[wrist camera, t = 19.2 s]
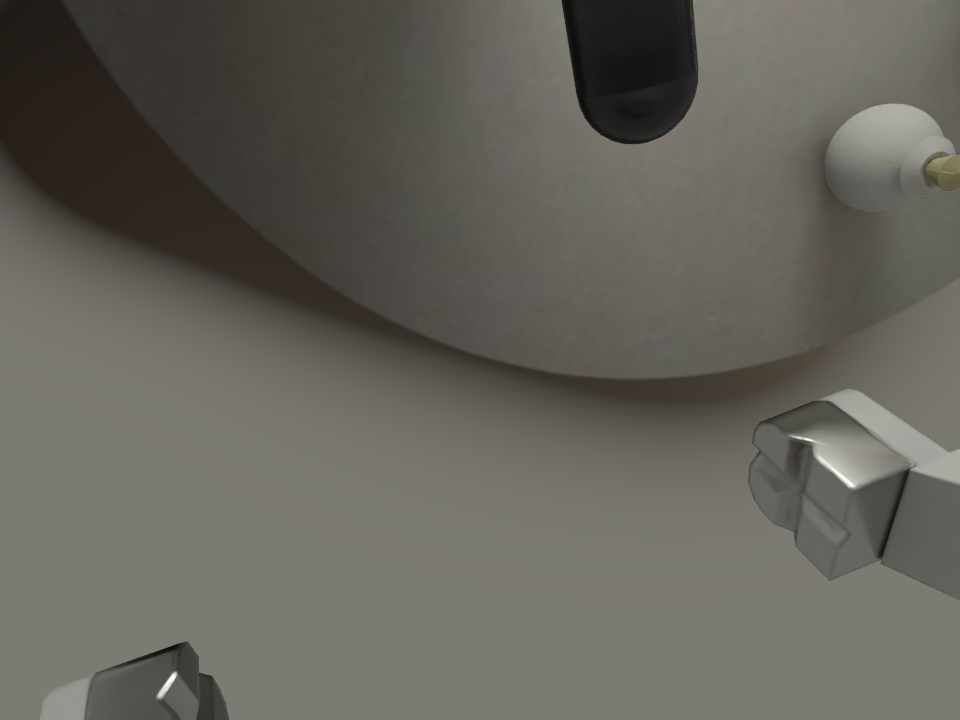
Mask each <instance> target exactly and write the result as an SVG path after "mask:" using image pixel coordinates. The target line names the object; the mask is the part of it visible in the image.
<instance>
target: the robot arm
mask: <svg viewBox="0 0 960 720" xmlns="http://www.w3.org/2000/svg"><path fill="white" fill-rule="evenodd" d="M752 444H753V445H755V447H756V448H757V449H758V450H759V452H758V454H757V455H756V456H755V458H754V459H753V461H752V462H751V464H750V466H749V477H748V483H749V486H750V489H751V492H752V495H753V498H754V500H755V501H756V503H757V505H758V506H759V508H760V509H761V511H762V512H763V513H764V514H765V515H766V516H767V517H768V519H769V520H770V521H771V522H772V523H773V524H775V525H777V526H780V527H783V528H786V529H788V530H791V531H794V538H795V545H796V547H797V548H798V549H799V550H800V551H801V552H802V553H803V554H804V555H805V556H806V557H807V559H809V561H810V562H811V563H813V565H814V566H815V567H817V568H818V570H819V571H820V572H821V573H822V574H823V575H824V576H825V577H826V578H827V579H828V580H829V581H831V580H833V579H835V578H838V577H840V576H843V575H845V574H847V573H850V572H852V571H855V570H857V569H860V568H862V567H865V566H867V565H869V564H872V563H874V562H877V561H879V560H881V564H883V565H885V566H887V567H889V568H891V569H893V570H896V571H898V572H900V573H902V574H904V575H906V576H908V577H911V578H913V579H915V580H917V581H919V582H921V583H924V584H926V585H928V586H930V587H932V588H934V589H936V590H939V591H941V592H943V593H945V594H947V595H949V596H951V597H954V598H956V599H958V600H960V450H955V451H953V452H950V453H949V452H947V451H946V450H944V449H943V448H941V447H940V446H939V445H937V444H935V443H934V442H933V441H931V440H930V439H928V438H927V437H925V436H924V435H922V434H921V433H919V432H918V431H917V430H915V429H914V428H912V427H911V426H909V425H908V424H906V423H905V422H904V421H902V420H901V419H899V418H898V417H896V416H895V415H893V414H892V413H890V412H889V411H887V410H886V409H885V408H883V407H882V406H880V405H878V404H877V403H876V402H874V401H873V400H871V399H870V398H869V397H867V396H866V395H864V394H863V393H861V392H859V391H856V390H852V389H846V390H843V391H840V392H838V393H835V394H832V395H830V396H827V397H825V398H822V399H819V400H817V401H812V402H810V403H807V404H805V405H802V406H800V407H797V408H795V409H792V410H789V411H787V412H784V413H782V414H779V415H777V416H774V417H772V418H769V419H767V420H765V421H762V422H760V423H759V424H758V425H757V427H756V428H755V429H754V434H753V441H752ZM38 720H229V716H228V712H227V707H226V703H225V700H224V698H223V695H222V693H221V690H220V688H219V686H218V685H217V683H216V681H215V680H214V678H213V677H212V676H210V675H206V674H202V673H199V656H198V655H197V653H196V652H195V651H194V649H193V648H192V647H191V646H190V644H189V643H188V642H183V643H179V644H176V645H173V646H171V647H168V648H165V649H162V650H159V651H157V652H154V653H151V654H148V655H145V656H143V657H139V658H136V659H134V660H131V661H128V662H126V663H122V664H120V665H117V666H114V667H111V668H108V669H105V670H103V671H100V672H97V673H95V674H92V675H89V676H86V677H84V678H81V679H78V680H76V681H73V682H70V683H67V684H65V685H62V686H59V687H56V688H54V689H51V690H50V691H49V693H48V695H47V697H46V698H45V700H44V702H43V704H42V706H41V709H40V715H39V719H38Z"/></svg>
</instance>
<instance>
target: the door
mask: <svg viewBox="0 0 960 720" xmlns="http://www.w3.org/2000/svg"><path fill="white" fill-rule="evenodd" d="M562 6H563V13H564V19H565V25H566V31H567V38H568V44H569V50H570V56H571V62H572V69H573V75H574V81H575V87H576V94H577V98H578V101H579V105H580V109H581V111H582V113H583V115H584V117H585V119H586V120H587V121H588V123H589V124H590V125H591V127H592V128H593V129H595V130H596V131H597V132H598V133H599V134H600V135H602V136H604V137H606V138H608V139H610V140H612V141H615V142H619V143H623V144H642V143H647V142H650V141H652V140H655V139H657V138H660V137H662V136H663V135H665V134H666V133H668V132H669V131H670V130H672V129H673V128H674V127H675V126H676V125H677V124H678V123H679V122H680V121H681V120H682V119H683V118H684V116H685V115H686V113H687V112H688V110H689V108H690V107H691V104H692V102H693V99H694V97H695V94H696V89H697V84H698V59H697V47H696V35H695V23H694V11H693V0H562Z"/></svg>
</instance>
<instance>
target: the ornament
mask: <svg viewBox="0 0 960 720" xmlns="http://www.w3.org/2000/svg"><path fill="white" fill-rule="evenodd" d="M824 173H825V178H826V181H827V184H828V186H829V188H830V190H831V191H832V193H833V194H834V195H835V196H836V197H837V198H838V199H839V200H840V201H841V202H842V203H844V204H845V205H847V206H849V207H851V208H853V209H856V210H859V211H864V212H870V213H882V212H889V211H893V210H897V209H900V208H903V207H905V206H907V205H909V204H911V203H913V202H914V201H916V200H917V199H925V198H928V197H930V196H932V195H934V194H935V193H937V192H938V191H939V190H941V189H943V190H945V191H952V190H955V189H956V188H958V187H959V186H960V155H956V153H955V149H954V146H953V144H952V143H951V142H950V141H949V140H948V139H947V138H945V137H944V136H943V133H942V131H941V129H940V127H939V125H938V124H937V123H936V122H935V121H934V120H933V119H932V118H931V117H930V116H929V115H928V114H927V113H925V112H923V111H922V110H920V109H918V108H915V107H913V106H909V105H904V104H884V105H878V106H874V107H871V108H868V109H866V110H864V111H861V112H860V113H858V114H856V115H854V116H853V117H852V118H850V119H849V120H848V121H846V122H845V123H844V124H843V125H842V126H841V127H840V128H839V129H838V131H837V132H836V133H835V134H834V136H833V138H832V139H831V141H830V143H829V145H828V148H827V151H826V154H825V159H824Z"/></svg>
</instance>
